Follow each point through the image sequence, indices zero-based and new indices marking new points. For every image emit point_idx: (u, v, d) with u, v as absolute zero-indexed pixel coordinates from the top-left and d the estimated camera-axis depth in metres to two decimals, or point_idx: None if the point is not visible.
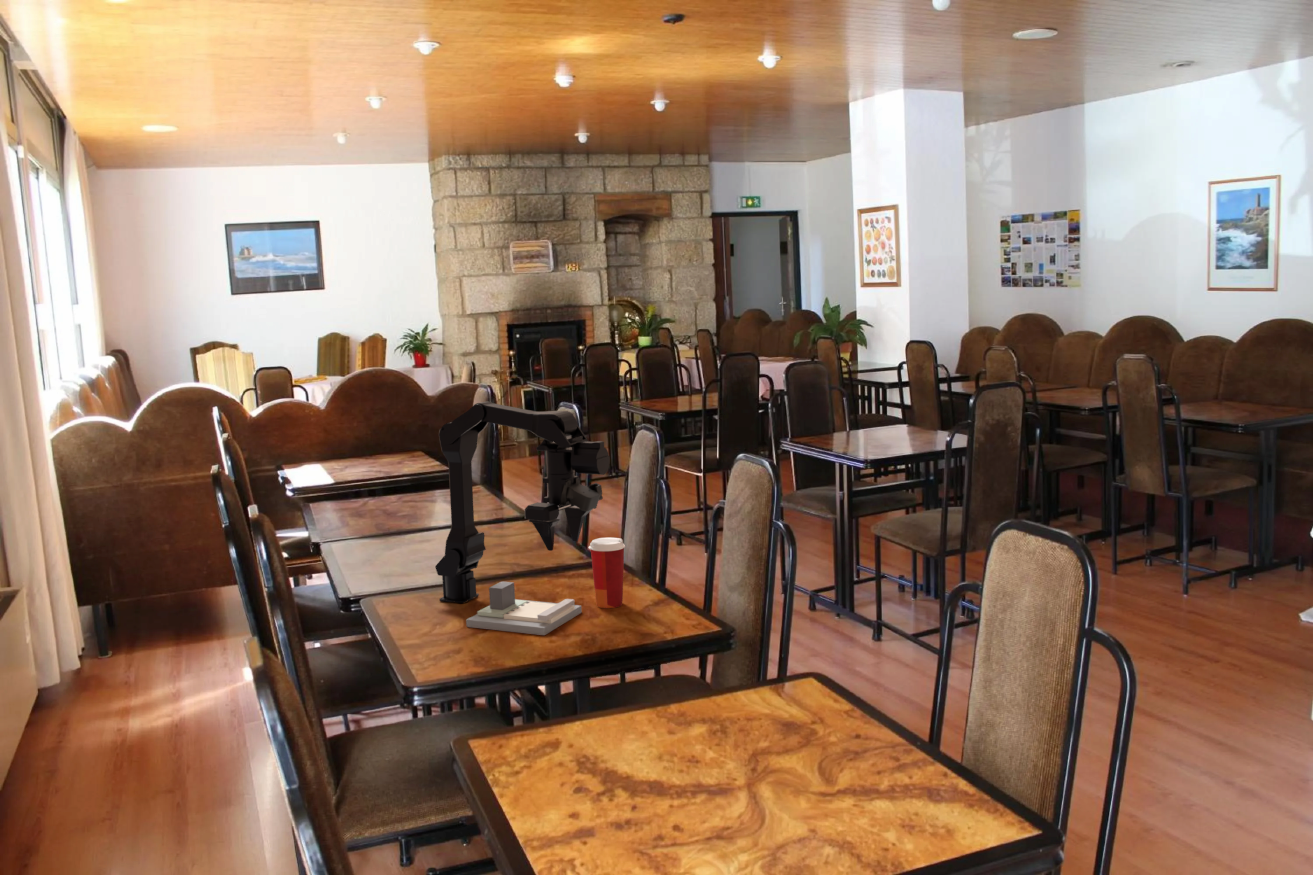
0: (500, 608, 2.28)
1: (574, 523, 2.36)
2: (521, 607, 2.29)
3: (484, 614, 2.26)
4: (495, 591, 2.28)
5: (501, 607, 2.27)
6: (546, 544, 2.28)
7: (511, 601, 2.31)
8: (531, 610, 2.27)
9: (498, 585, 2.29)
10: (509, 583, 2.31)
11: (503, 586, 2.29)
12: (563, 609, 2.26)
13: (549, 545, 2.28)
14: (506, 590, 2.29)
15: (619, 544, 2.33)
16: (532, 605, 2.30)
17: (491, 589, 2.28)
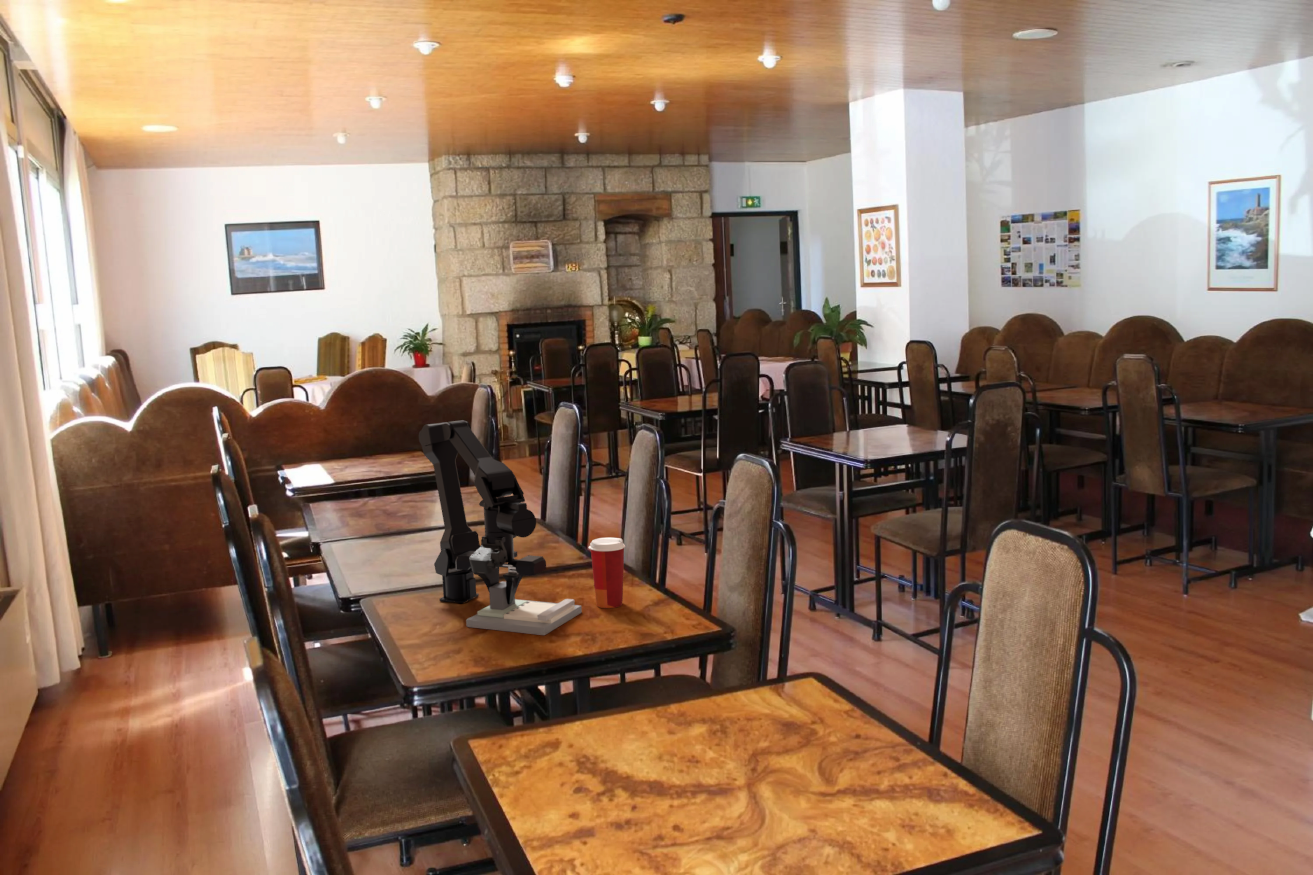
0: (500, 608, 2.28)
1: None
2: (521, 607, 2.29)
3: (484, 614, 2.26)
4: (495, 591, 2.28)
5: (501, 607, 2.27)
6: None
7: None
8: (531, 610, 2.27)
9: (498, 585, 2.29)
10: None
11: (503, 586, 2.29)
12: (563, 609, 2.26)
13: None
14: None
15: (619, 544, 2.33)
16: (532, 605, 2.30)
17: (491, 589, 2.28)
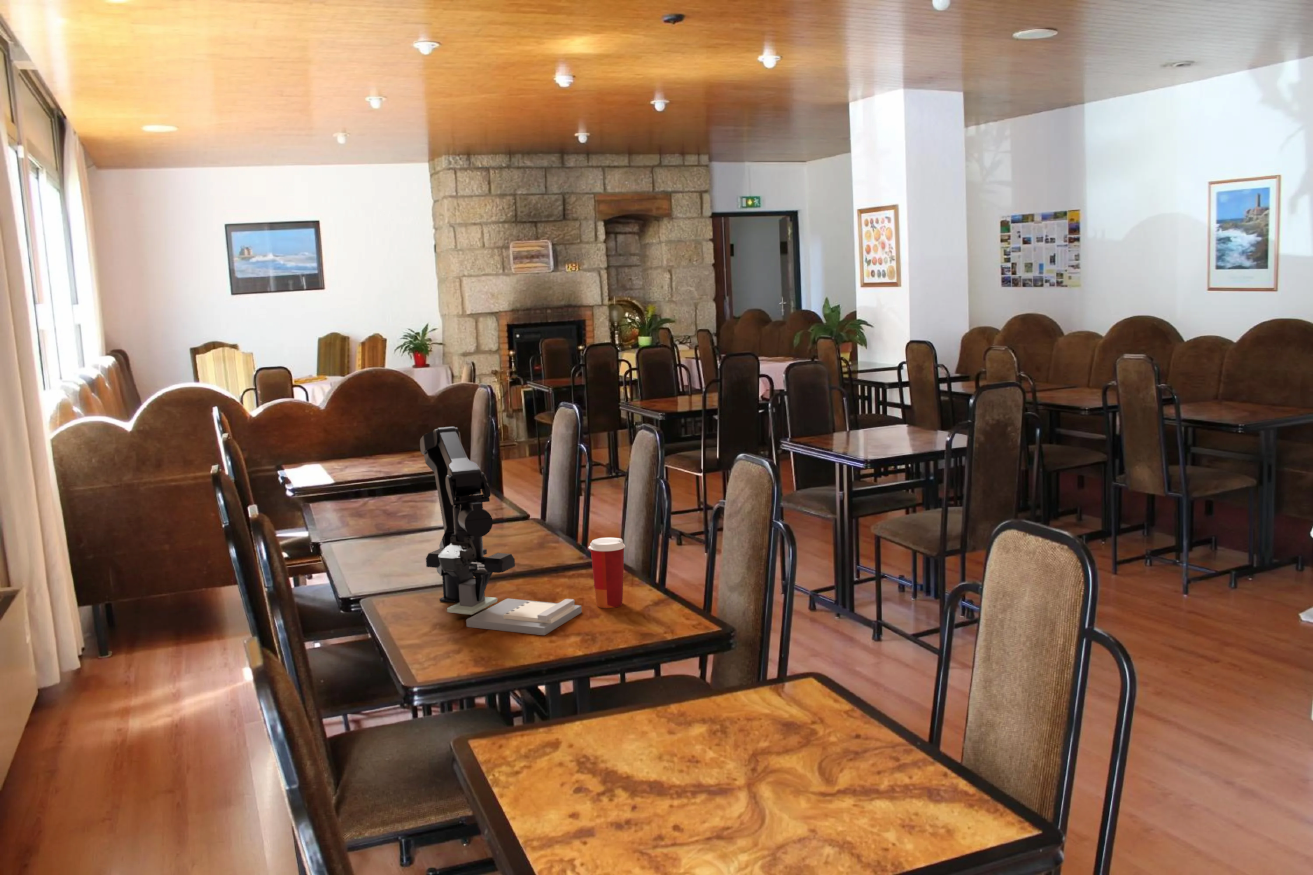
0: (469, 605, 2.31)
1: None
2: (521, 607, 2.29)
3: (453, 611, 2.29)
4: (464, 588, 2.31)
5: (470, 604, 2.30)
6: None
7: None
8: (531, 610, 2.27)
9: (468, 582, 2.32)
10: None
11: (472, 583, 2.32)
12: (563, 609, 2.26)
13: None
14: (475, 587, 2.31)
15: (619, 544, 2.33)
16: (532, 605, 2.30)
17: (461, 586, 2.31)
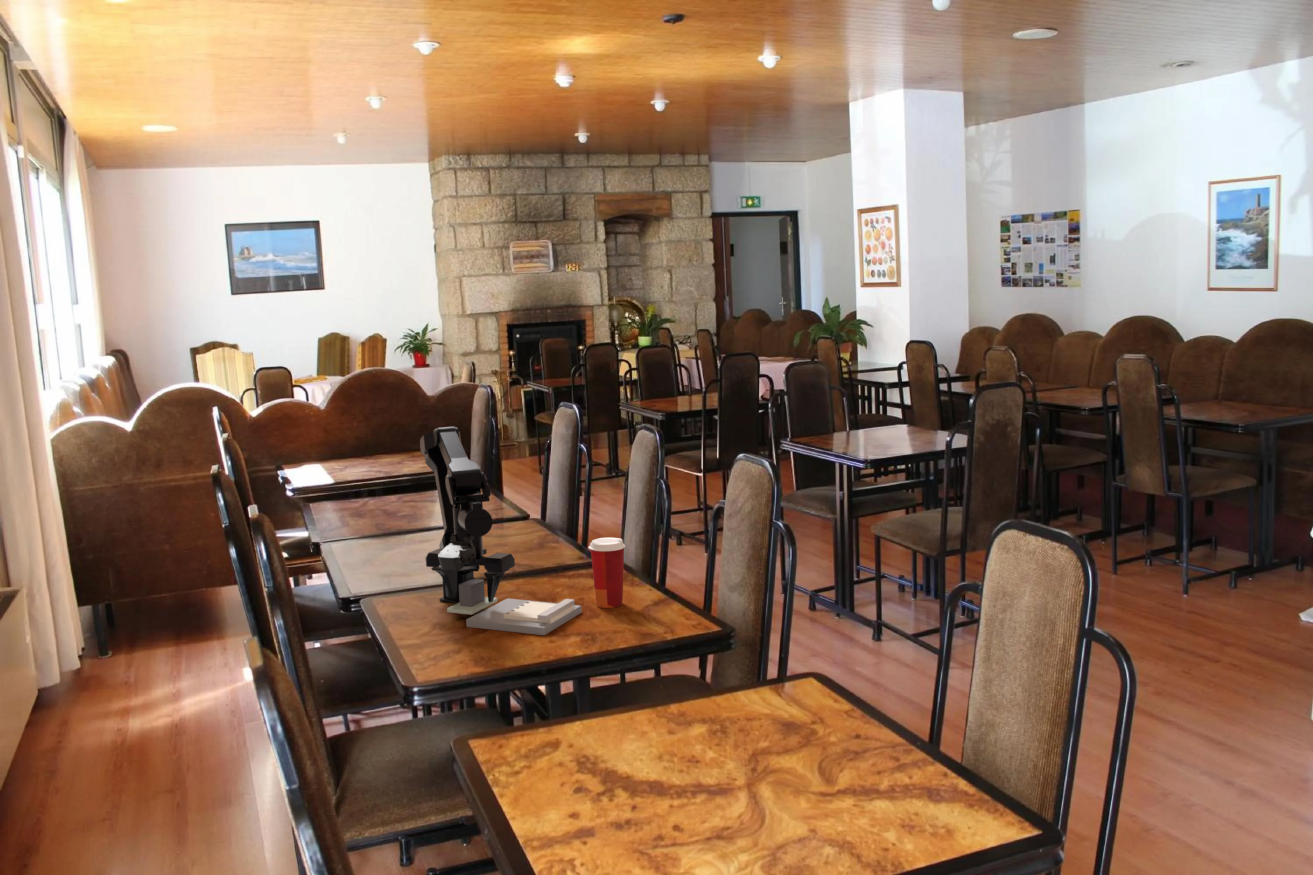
0: (469, 605, 2.31)
1: None
2: (521, 607, 2.29)
3: (453, 611, 2.29)
4: (464, 588, 2.31)
5: (470, 604, 2.30)
6: None
7: (481, 598, 2.34)
8: (531, 610, 2.27)
9: (468, 582, 2.32)
10: (479, 580, 2.34)
11: (472, 583, 2.32)
12: (563, 609, 2.26)
13: None
14: (475, 587, 2.31)
15: (619, 544, 2.33)
16: (532, 605, 2.30)
17: (460, 586, 2.31)
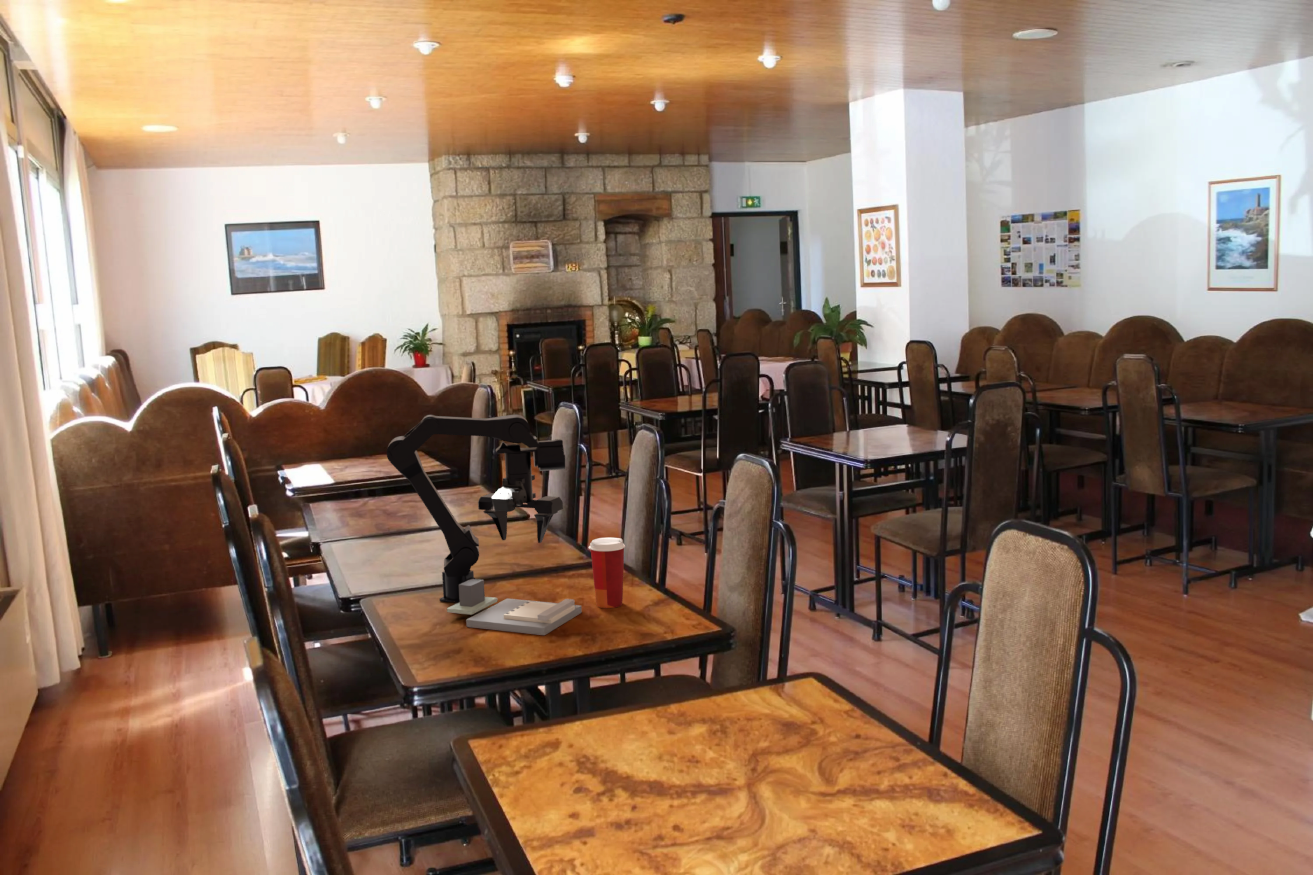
0: (469, 605, 2.31)
1: None
2: (521, 607, 2.29)
3: (453, 611, 2.29)
4: (464, 588, 2.31)
5: (470, 604, 2.30)
6: None
7: (481, 598, 2.34)
8: (531, 610, 2.27)
9: (468, 582, 2.32)
10: (479, 580, 2.34)
11: (472, 583, 2.32)
12: (563, 609, 2.26)
13: None
14: (475, 587, 2.31)
15: (619, 544, 2.33)
16: (532, 605, 2.30)
17: (460, 586, 2.31)
